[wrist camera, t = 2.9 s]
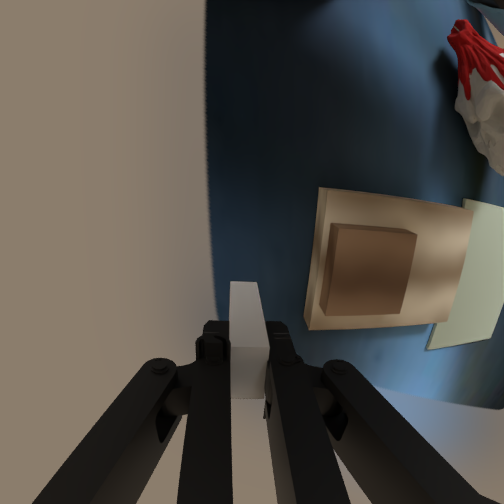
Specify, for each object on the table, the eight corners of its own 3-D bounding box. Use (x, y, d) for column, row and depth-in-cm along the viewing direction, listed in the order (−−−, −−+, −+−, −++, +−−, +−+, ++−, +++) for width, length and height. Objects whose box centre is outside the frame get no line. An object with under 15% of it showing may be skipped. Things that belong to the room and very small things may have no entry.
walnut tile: (330, 222, 22) (339, 228, 21) (405, 229, 23) (417, 234, 21) (318, 304, 24) (325, 316, 23) (389, 303, 25) (399, 313, 23)
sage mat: (463, 197, 25) (466, 198, 24) (522, 212, 26) (524, 213, 25) (425, 347, 30) (427, 349, 30) (488, 336, 31) (490, 337, 30)
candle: (477, 178, 24) (399, 56, 22) (519, 133, 22) (453, 27, 20) (535, 180, 15) (442, 17, 13) (569, 127, 13) (494, -3, 11)
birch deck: (319, 186, 24) (327, 189, 22) (458, 206, 25) (473, 211, 23) (303, 316, 28) (309, 330, 25) (435, 311, 29) (447, 321, 26)
